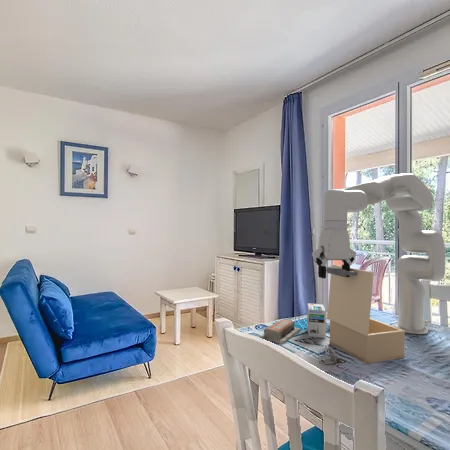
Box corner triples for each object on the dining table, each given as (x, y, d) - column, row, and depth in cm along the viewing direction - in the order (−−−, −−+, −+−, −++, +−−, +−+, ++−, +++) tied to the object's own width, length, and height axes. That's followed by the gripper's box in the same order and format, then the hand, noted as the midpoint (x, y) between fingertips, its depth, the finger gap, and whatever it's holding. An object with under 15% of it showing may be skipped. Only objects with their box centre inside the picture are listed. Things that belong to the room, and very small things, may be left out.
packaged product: (283, 332, 115) (259, 327, 121) (283, 345, 115) (258, 339, 121) (300, 320, 130) (278, 316, 136) (300, 332, 130) (278, 327, 136)
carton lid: (334, 264, 118) (316, 263, 115) (373, 272, 100) (354, 271, 98) (329, 318, 118) (311, 318, 115) (368, 335, 100) (348, 336, 97)
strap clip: (324, 366, 98) (324, 353, 98) (318, 362, 101) (318, 349, 101) (346, 363, 101) (347, 350, 101) (340, 359, 104) (340, 346, 104)
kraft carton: (363, 338, 122) (364, 315, 122) (404, 357, 106) (404, 330, 106) (329, 343, 117) (330, 319, 117) (366, 363, 100) (367, 335, 100)
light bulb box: (326, 338, 122) (326, 310, 122) (308, 336, 124) (308, 309, 124) (323, 329, 133) (323, 303, 133) (306, 328, 134) (307, 302, 134)
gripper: (348, 226, 113) (347, 274, 113) (306, 225, 107) (305, 276, 107) (363, 227, 106) (362, 278, 106) (320, 226, 100) (319, 280, 100)
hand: (334, 277), depth 107 cm, fingers open, 9 cm apart
